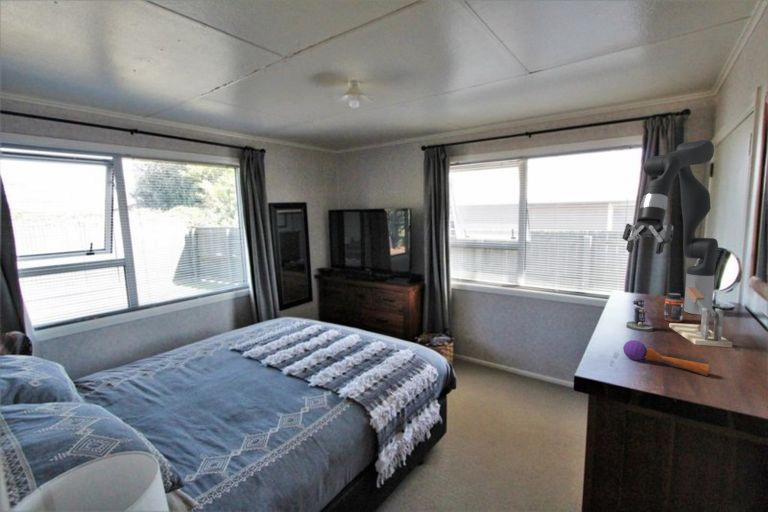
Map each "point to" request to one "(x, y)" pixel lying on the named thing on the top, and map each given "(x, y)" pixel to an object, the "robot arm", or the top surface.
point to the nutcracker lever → (700, 301)
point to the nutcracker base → (704, 330)
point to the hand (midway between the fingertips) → (643, 252)
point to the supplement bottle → (673, 308)
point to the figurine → (639, 318)
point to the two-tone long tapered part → (661, 357)
